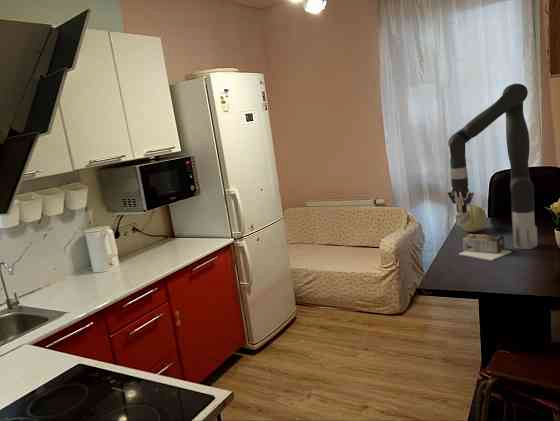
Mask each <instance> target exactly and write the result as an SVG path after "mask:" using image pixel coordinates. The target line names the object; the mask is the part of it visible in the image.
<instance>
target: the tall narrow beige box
mask: <svg viewBox="0 0 560 421" xmlns="http://www.w3.org/2000/svg"><path fill="white" fill-rule="evenodd" d="M456 199H457V204H458V209H459V213H457V214H455V215H454V216H455V217H454V218H455V221H456V225H457V226H460V225H462V224H464V223H466V222H467V221H469V220H471V217H470V211H469V210H467V211H466V213H462V203H461V200H460V197H457V198H456Z"/></svg>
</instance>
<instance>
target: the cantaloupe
mask: <svg viewBox="0 0 560 421" xmlns="http://www.w3.org/2000/svg"><path fill="white" fill-rule="evenodd" d="M467 210H469V211H470V217H471V220H469V221H467V222H466V223H464V224H462V225H459V226H460V227H461V229H463V230H465V231H466V232H469V233H477V232H479V231H482V230H483V229H484V228H486V225H487V222H488V217H487V213H486V212H485V210H484V209H483V208H482V207H480V206H477V205H472V204H471V203H469V204H468V206H467Z"/></svg>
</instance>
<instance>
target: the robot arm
mask: <svg viewBox="0 0 560 421" xmlns="http://www.w3.org/2000/svg"><path fill="white" fill-rule="evenodd" d="M528 94H529V92H528V88H527V87H526V85H524V84H522V83H512V84H509V85H508V86H506V87H505V88H504V90H503V91H502V94H501V96H500V97H499V98H497V100H496V101H495V102H494V103H492V105H491V106H489V107H487V108H486V109H485V110H483V111H481V112H480V113H479V114H477V115H476V116H475V117H473V118H472V119H471V120H470V121H469V122H468V123H466V124H465V125H464V126H463V127H462V128H461V129H459V130H458V131H456V132H454V134H452V135H451V136H450V137H449V139H448V140H447V144H448V147H449V153H450V157H449V164H450V165H449V166H450V183H451V188H452V189H451V191H449V192H448V193H447V195H448V197H449V199H450V201H451V202H452V204H455V205H456V211H457V214H459V209H458V204H457V199H456V198H457V197H460V200H461V203H462V213H466V211H467V207H468V206H467V205H469V204H471V202H472V199H473V198H474V196H475V193H474V192H472V191H470V189H469V177H468V168H467V157H466V143H467V142H469V141H470V140H472V139H473V138H475V137H477V136H478V135H479V134H481V133H482V132H483V131H485V129H487V128H488V127H489V126H491V124H493V123H494V122H495V121H496V120H498V118H500V117H501V116H502V115H504V114H505V135H506V136H505V138H506V147H507V148H506V149H507V150H506V151H507V155H508V160H509V163H510V181H509V182H510V183H509V187H510V194H511V197H510V198H511V222H512V223H511V225H512V226H511V227H512V240H513V241H512V243H513V248H515V249H517V250H519V249H521V250H531V249H534V248H537V247H538V246H539V245H538V227H537V226H536V224H535V222H536V221H535V187H534V183H533V181H532V180H531V175H530V170H529V169H530V168H529V158H530V151H531V148H530V145H531V144H530V135H529V134H530V132H529V128H528V125H527V121H526V118H525V115H524V102H525V100H526V99H527V97H528Z"/></svg>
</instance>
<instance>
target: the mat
mask: <svg viewBox="0 0 560 421" xmlns="http://www.w3.org/2000/svg"><path fill="white" fill-rule="evenodd" d="M510 253H512V250H506V249H503V250H502V251H501V252H499V253H488V252H476V251H464V250H463V251H462V252H459V253H458V255H459V256H464V257H465V256H466V257H469V258H476V259H480V260H486V261H494V260H497V259H499V258H502V257H504V256H506V255H508V254H510Z"/></svg>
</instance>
